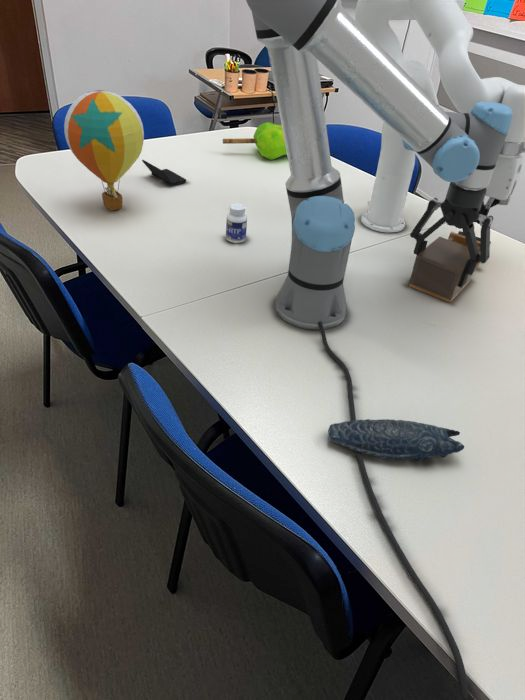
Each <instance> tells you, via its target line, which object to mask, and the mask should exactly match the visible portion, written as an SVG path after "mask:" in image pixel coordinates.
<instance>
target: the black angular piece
mask: <svg viewBox="0 0 525 700" xmlns="http://www.w3.org/2000/svg"><path fill="white" fill-rule="evenodd" d="M141 161H142V163H143V164H144V165H145V167H147V169H148V170H149V171H150V172H151V174H150V175H151V176H153V177H155V178H156V179H158V180H160V181H162V182H163V183H165V184H167V185H168V186H170V187H172V186H177V185H180V184H184V183H185V184H186V183H187V179H186V178H184V177H183V176H181V175H179V174H177V173H175V172H173V171H172V170H170V169H168V168H164V169H161V168H159V167H157V166H155V165H153V164H151V163H150V162H148V161H146V160H145V159H142V160H141Z"/></svg>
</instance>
